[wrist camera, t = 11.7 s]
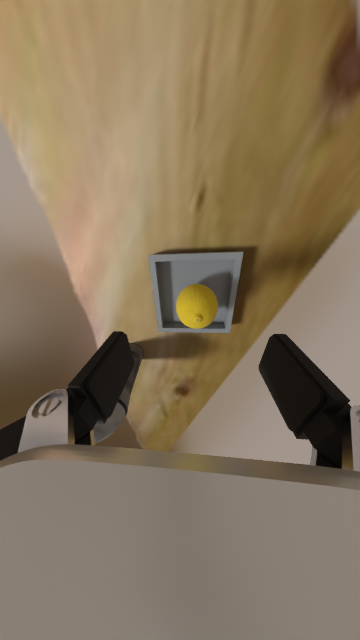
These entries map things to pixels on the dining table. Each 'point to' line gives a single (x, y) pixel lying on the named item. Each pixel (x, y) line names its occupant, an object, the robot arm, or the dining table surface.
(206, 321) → the lemon
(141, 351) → the beverage cup
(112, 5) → the dining table surface
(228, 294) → the tray
